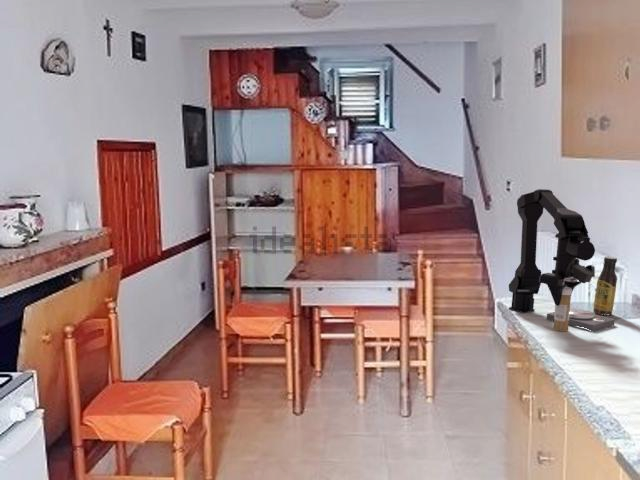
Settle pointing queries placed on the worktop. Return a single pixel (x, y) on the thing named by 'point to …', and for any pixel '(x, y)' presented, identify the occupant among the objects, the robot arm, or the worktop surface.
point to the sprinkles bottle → (563, 311)
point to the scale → (588, 322)
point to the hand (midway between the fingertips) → (561, 304)
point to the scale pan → (580, 314)
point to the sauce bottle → (606, 288)
